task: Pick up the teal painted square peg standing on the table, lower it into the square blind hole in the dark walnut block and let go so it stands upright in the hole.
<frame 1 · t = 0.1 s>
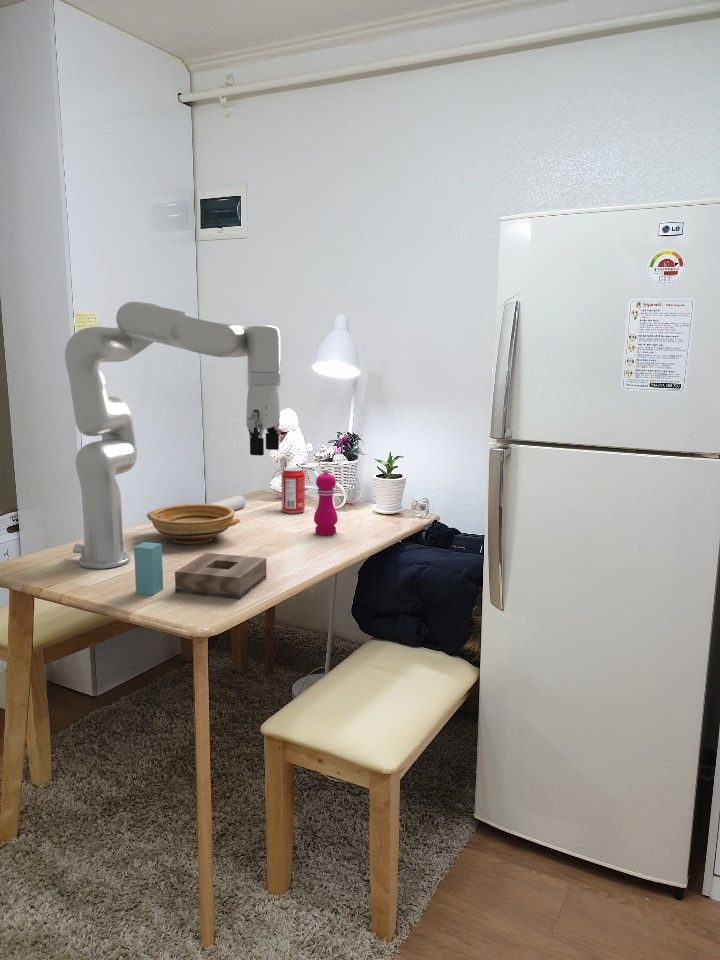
hand: (264, 452, 173), 31 cm above the table, tool pointing down, fingers open, 9 cm apart
bore block: (222, 584, 173), on the table
ceramic bowl: (193, 539, 214), on the table
pepper mill: (325, 533, 222), on the table
peg: (149, 591, 168), on the table
soda can: (293, 512, 250), on the table
tube: (221, 515, 246), on the table
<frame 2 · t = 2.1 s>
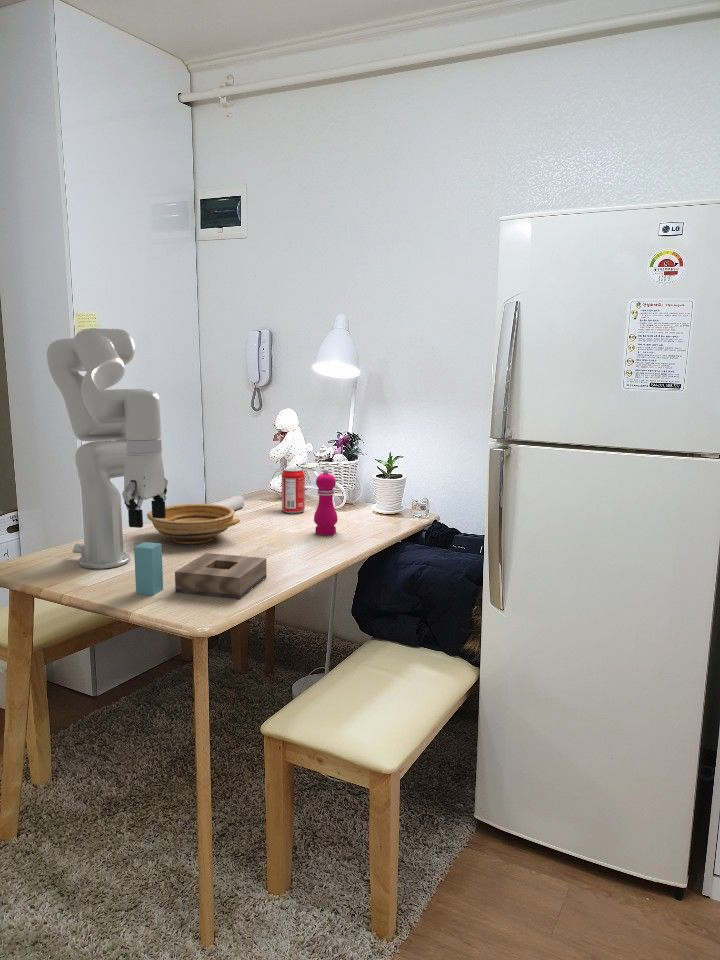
hand: (147, 522, 164), 16 cm above the table, tool pointing down, fingers open, 9 cm apart
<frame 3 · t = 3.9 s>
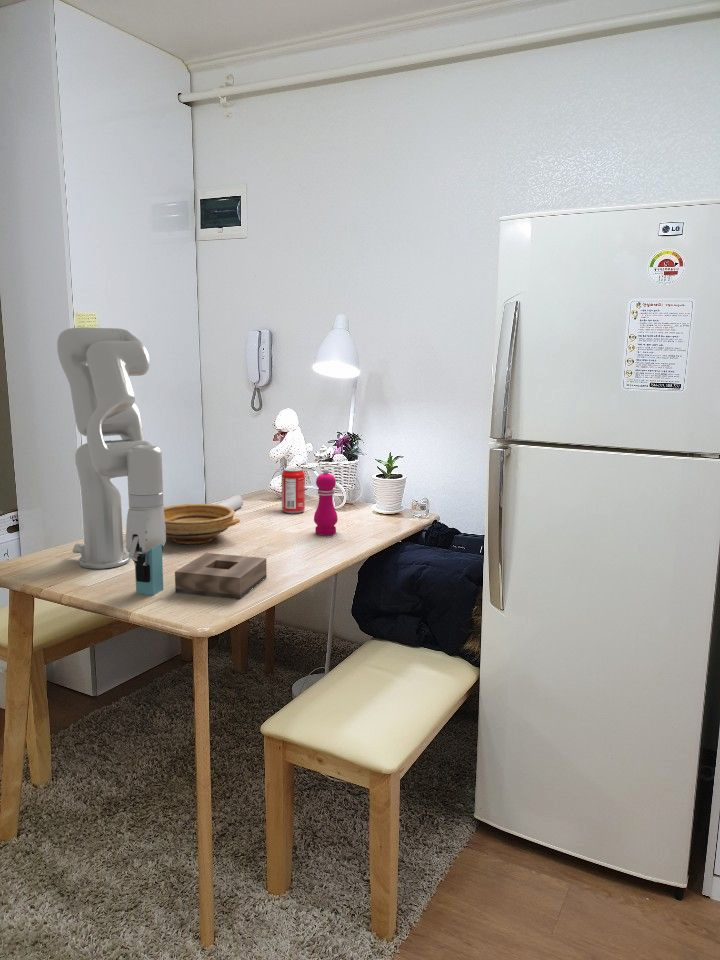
hand: (149, 577, 167), 3 cm above the table, tool pointing down, fingers closed on peg, 4 cm apart
peg: (149, 591, 168), on the table, touching gripper
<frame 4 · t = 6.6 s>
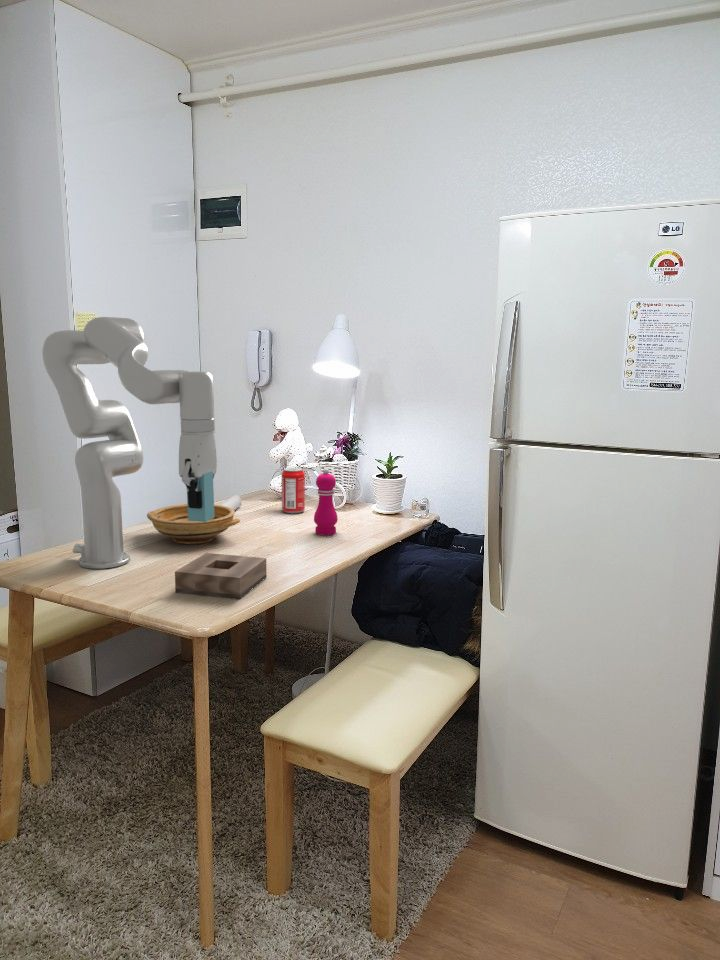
hand: (200, 504, 168), 20 cm above the table, tool pointing down, fingers closed on peg, 4 cm apart
peg: (201, 519, 168), point 16 cm above the table, touching gripper
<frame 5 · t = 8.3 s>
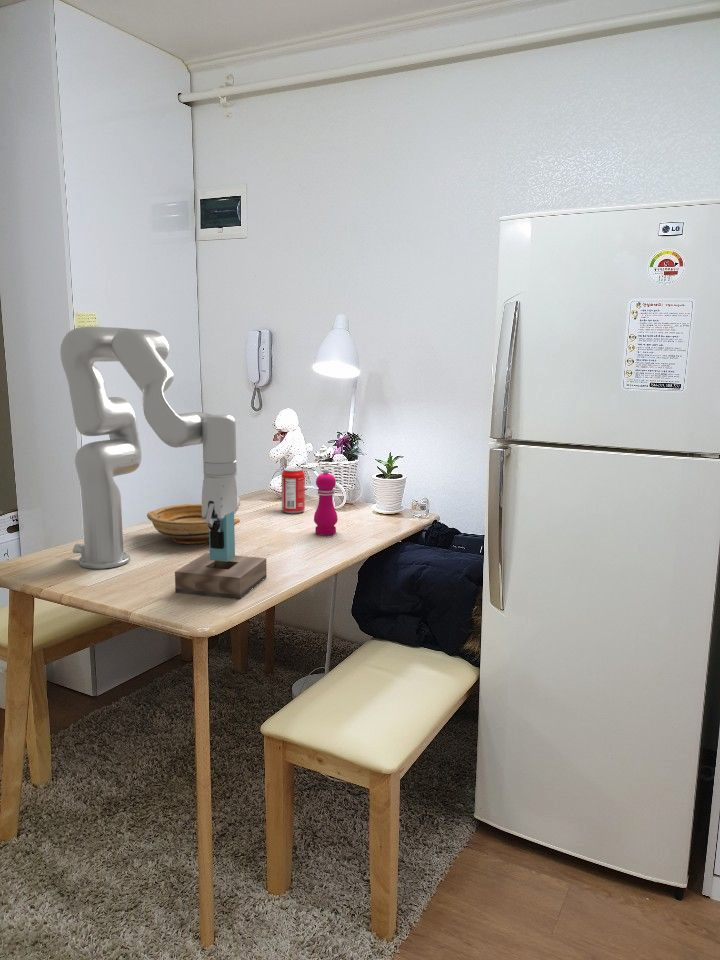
hand: (221, 544, 171), 10 cm above the table, tool pointing down, fingers closed on peg, 4 cm apart
peg: (222, 558, 172), point 7 cm above the table, touching gripper
when the fingers open (6 cm above the table, at t = 9.4 s): peg drops 2 cm, resting on bore block.
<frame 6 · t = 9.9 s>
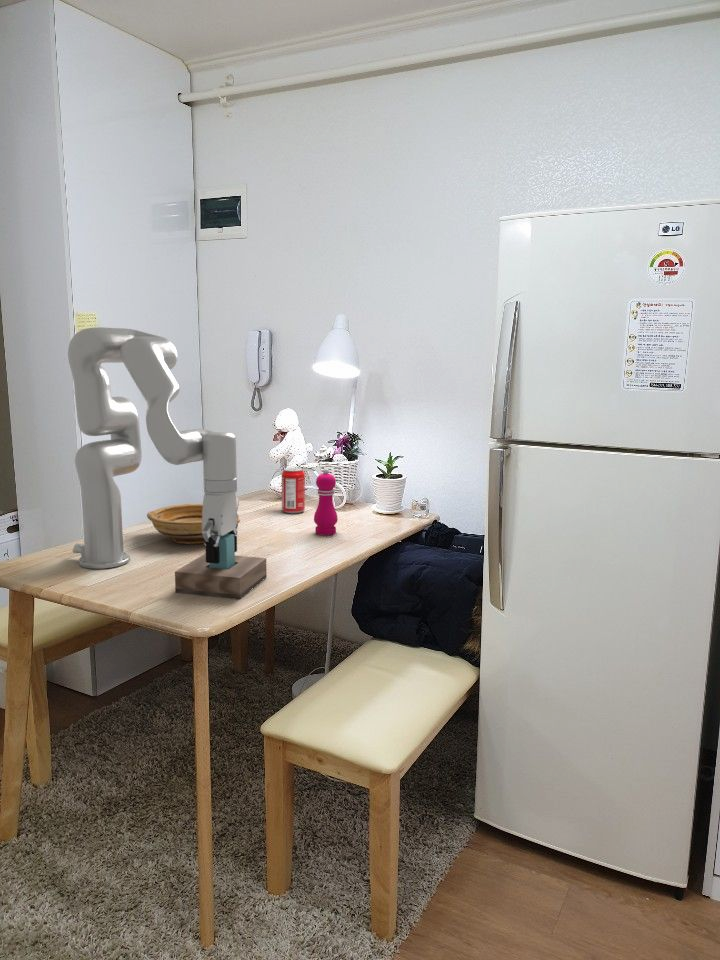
hand: (221, 557, 172), 7 cm above the table, tool pointing down, fingers open, 9 cm apart
peg: (222, 580, 173), point 1 cm above the table, touching bore block
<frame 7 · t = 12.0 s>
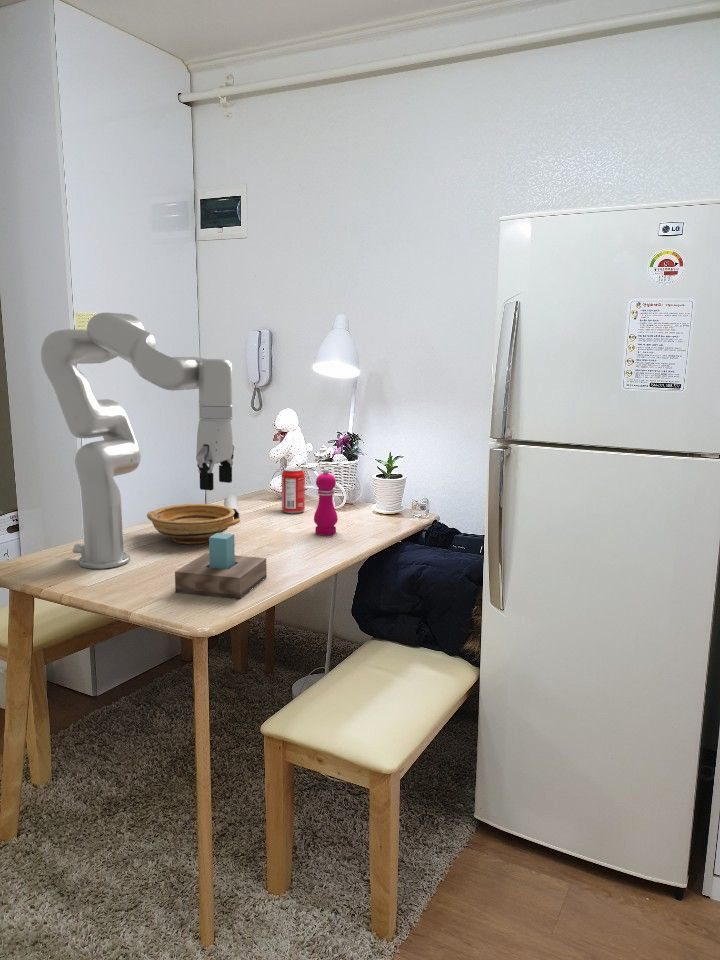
hand: (216, 485, 171), 23 cm above the table, tool pointing down, fingers open, 9 cm apart
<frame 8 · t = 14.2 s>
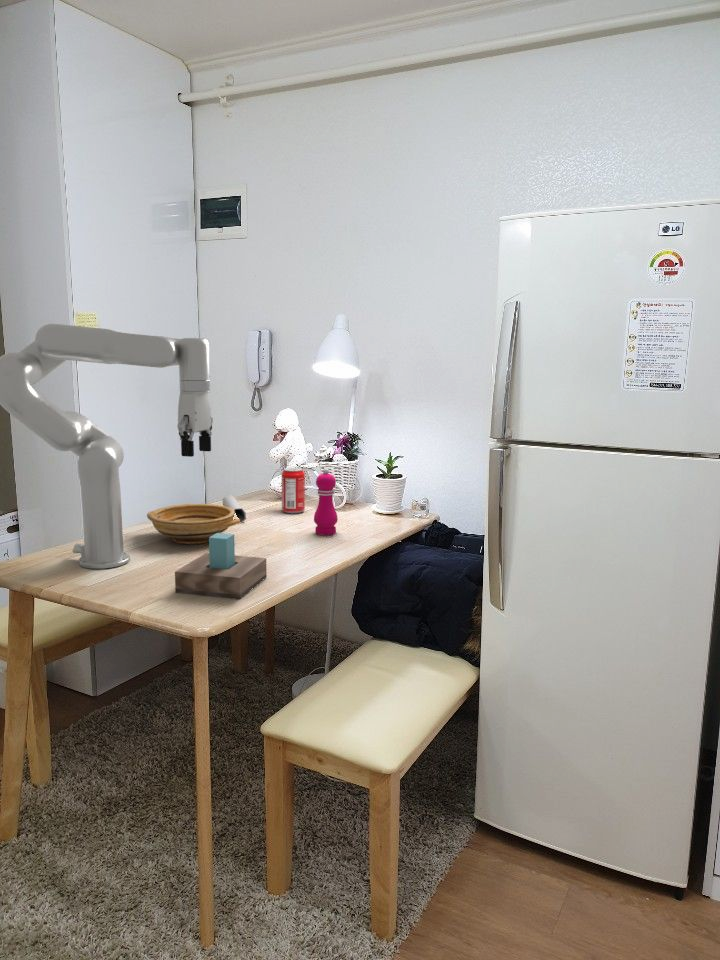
hand: (196, 453, 189), 28 cm above the table, tool pointing down, fingers open, 9 cm apart
at the end: peg 0.1 cm off-centre on the bore block, point 1.0 cm above the bore block's base; peg tilted 0°; the gripper is holding nothing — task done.
